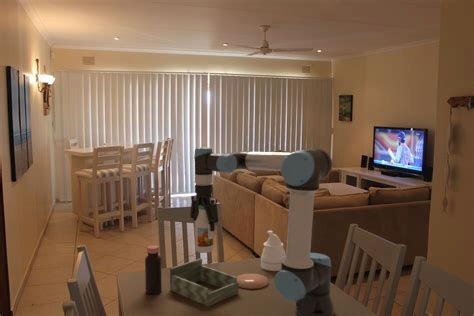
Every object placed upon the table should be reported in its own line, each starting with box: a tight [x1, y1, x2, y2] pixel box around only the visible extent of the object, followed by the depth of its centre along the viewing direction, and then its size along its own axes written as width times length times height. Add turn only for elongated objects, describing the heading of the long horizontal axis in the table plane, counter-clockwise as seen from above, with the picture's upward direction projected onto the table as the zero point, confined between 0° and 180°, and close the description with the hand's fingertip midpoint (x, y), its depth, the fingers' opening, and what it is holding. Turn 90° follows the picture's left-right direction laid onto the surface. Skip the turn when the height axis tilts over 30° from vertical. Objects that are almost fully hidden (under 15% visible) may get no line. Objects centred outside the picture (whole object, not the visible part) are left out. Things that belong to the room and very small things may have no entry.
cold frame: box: [169, 257, 240, 307], centre depth 197 cm, size 24×18×10 cm
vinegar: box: [144, 244, 162, 295], centre depth 196 cm, size 7×7×20 cm
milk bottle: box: [194, 205, 214, 254], centre depth 194 cm, size 8×8×20 cm
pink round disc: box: [236, 273, 269, 290], centre depth 208 cm, size 15×15×2 cm
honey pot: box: [260, 230, 286, 272], centre depth 229 cm, size 13×13×18 cm
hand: (204, 236), depth 195 cm, fingers closed on milk bottle, 8 cm apart
